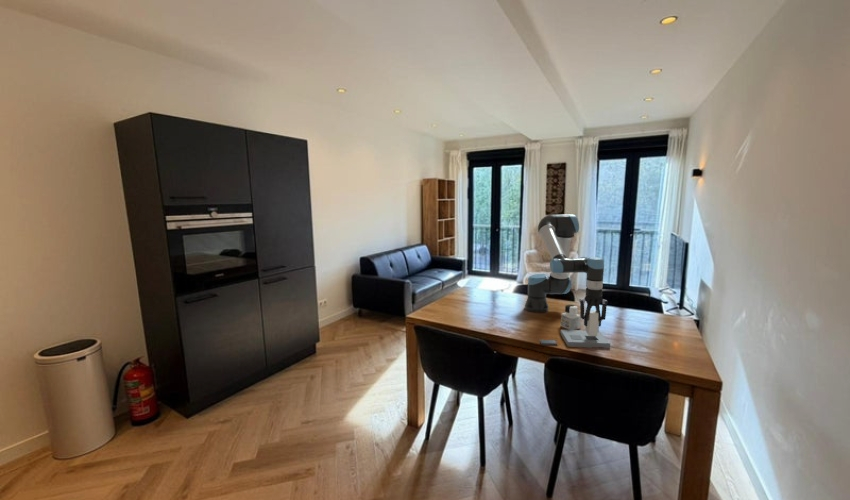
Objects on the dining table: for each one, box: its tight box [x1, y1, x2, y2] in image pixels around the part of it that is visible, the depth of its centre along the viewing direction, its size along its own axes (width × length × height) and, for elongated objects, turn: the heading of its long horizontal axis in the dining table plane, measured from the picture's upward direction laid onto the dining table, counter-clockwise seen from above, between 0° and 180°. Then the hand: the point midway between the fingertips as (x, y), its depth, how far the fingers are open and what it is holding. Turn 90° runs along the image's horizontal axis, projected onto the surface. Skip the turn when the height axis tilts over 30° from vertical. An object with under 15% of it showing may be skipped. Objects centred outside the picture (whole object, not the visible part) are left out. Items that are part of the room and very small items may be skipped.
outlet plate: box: [560, 329, 611, 349], centre depth 180 cm, size 16×20×3 cm
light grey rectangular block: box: [587, 310, 599, 336], centre depth 176 cm, size 4×4×12 cm
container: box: [560, 304, 582, 330], centre depth 197 cm, size 8×8×13 cm
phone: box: [539, 339, 558, 346], centre depth 178 cm, size 4×8×1 cm, turn 81°
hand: (591, 331), depth 177 cm, fingers closed on light grey rectangular block, 4 cm apart
